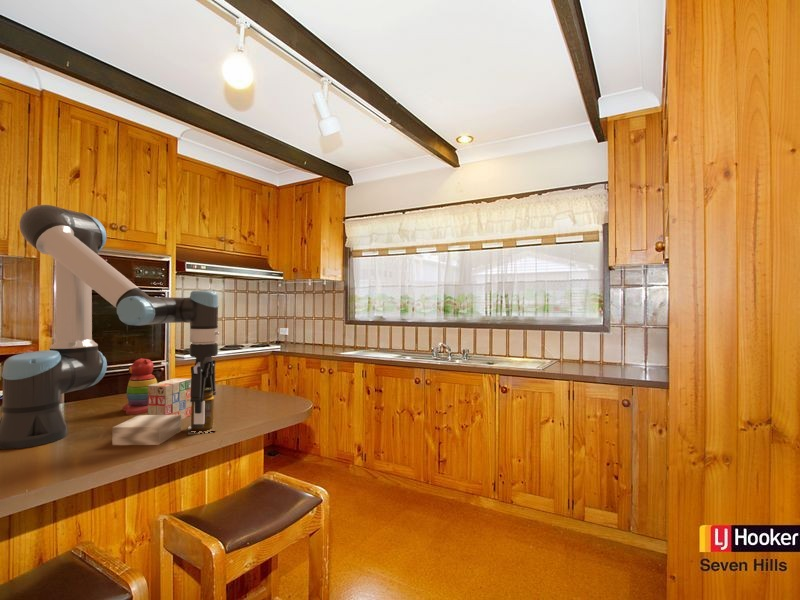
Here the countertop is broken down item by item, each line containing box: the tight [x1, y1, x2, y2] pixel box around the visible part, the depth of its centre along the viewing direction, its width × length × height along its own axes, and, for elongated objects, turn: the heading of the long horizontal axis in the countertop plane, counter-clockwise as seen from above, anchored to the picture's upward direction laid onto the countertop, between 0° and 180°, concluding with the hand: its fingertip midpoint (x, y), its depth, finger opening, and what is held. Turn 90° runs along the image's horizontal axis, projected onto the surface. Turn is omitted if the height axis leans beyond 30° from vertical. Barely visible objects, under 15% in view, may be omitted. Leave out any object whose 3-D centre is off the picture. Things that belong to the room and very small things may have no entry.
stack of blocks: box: [147, 377, 192, 420], centre depth 139 cm, size 21×6×12 cm, turn 170°
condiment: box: [187, 387, 215, 435], centre depth 124 cm, size 7×8×12 cm
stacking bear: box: [122, 357, 158, 416], centre depth 146 cm, size 11×10×18 cm
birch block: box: [111, 414, 182, 446], centre depth 116 cm, size 12×12×5 cm
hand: (203, 420), depth 125 cm, fingers closed on condiment, 6 cm apart
